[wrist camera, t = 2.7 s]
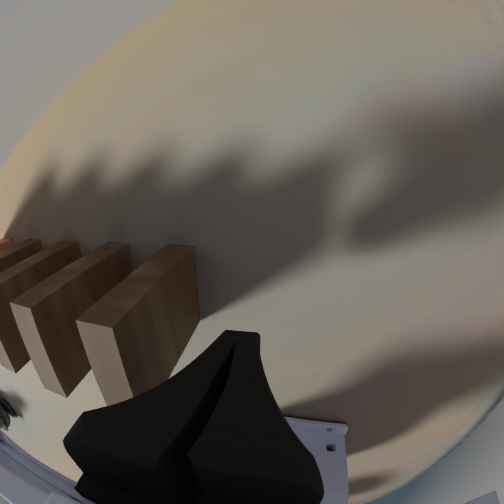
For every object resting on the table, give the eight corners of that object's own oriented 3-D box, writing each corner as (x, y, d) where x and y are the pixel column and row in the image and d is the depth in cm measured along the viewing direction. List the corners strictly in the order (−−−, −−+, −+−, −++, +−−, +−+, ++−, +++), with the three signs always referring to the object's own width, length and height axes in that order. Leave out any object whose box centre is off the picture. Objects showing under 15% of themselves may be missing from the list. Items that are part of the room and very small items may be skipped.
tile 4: (40, 239, 18) (-45, 283, 10) (53, 298, 19) (-19, 353, 11) (28, 239, 18) (-53, 280, 10) (41, 295, 20) (-28, 347, 12)
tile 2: (128, 243, 17) (30, 308, 9) (139, 313, 18) (67, 397, 10) (107, 242, 17) (9, 302, 9) (119, 310, 18) (45, 387, 11)
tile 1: (193, 245, 16) (112, 327, 8) (199, 320, 18) (143, 424, 10) (167, 244, 16) (75, 319, 8) (175, 318, 18) (111, 414, 10)
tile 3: (78, 241, 17) (-17, 293, 9) (91, 305, 19) (15, 373, 11) (62, 240, 17) (-29, 289, 10) (75, 302, 19) (1, 365, 11)
